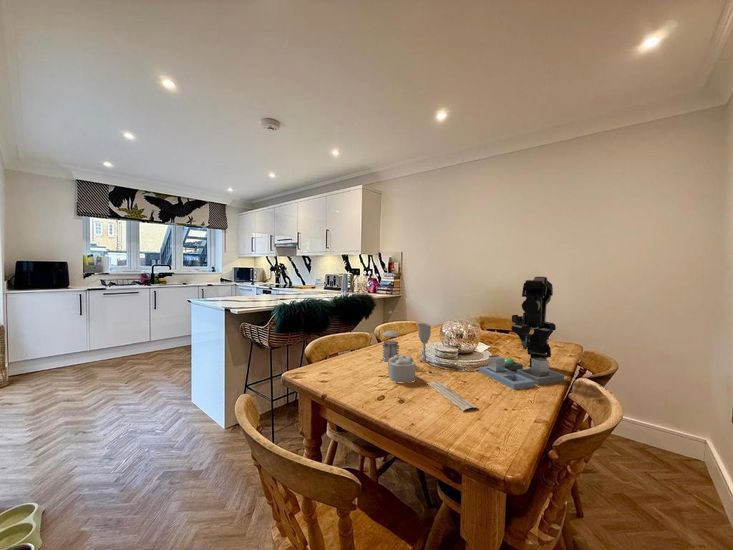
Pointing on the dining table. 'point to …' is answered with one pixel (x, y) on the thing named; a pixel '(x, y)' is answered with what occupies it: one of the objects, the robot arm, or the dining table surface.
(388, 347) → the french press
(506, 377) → the pallet
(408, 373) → the fruit punnet
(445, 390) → the grooved grey strip
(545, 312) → the robot arm
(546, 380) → the tray
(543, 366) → the block
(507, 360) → the button
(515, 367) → the button housing
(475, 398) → the dining table surface
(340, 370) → the dining table surface
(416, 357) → the dining table surface
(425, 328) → the chalice
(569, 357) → the dining table surface
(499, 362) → the block
